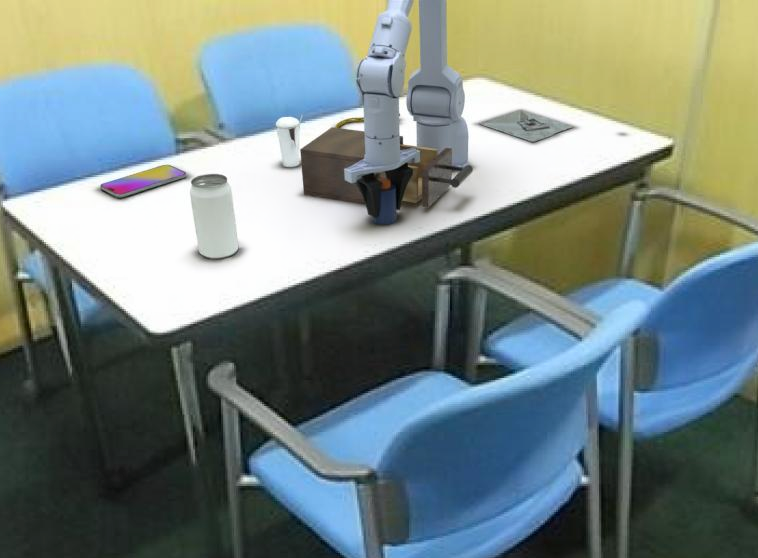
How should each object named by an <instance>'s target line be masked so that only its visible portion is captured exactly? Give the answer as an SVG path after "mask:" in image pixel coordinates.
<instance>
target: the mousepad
mask: <svg viewBox="0 0 758 558" xmlns="http://www.w3.org/2000/svg"><path fill="white" fill-rule="evenodd" d="M478 124H479V125H480V126H481V125H482V126H485V127H488V128H490V129H494V130H497V131H499V132H503V133H505V134H508V135H511V136H513V137H517V138H520V139H523V140H526V141H528V142H532V143H534V142H537V141H541V140H543V139H547V138H549V137H552V136H555V134H557V133H560V132H563V131H566V130H569V129H572V128H574V126H573V125H569V124H565V123H562V122H560V121H557V120H553V119H550V118H547V117H543V116H541V115H537V114H534V113H531V112H528V111H524V110H522V109H520V110H517V111H513V112H509V113H506V114H505V115H500V116H498V117H493V118H491V119H489V120H485V121H481V122H479V123H478Z"/></svg>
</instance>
